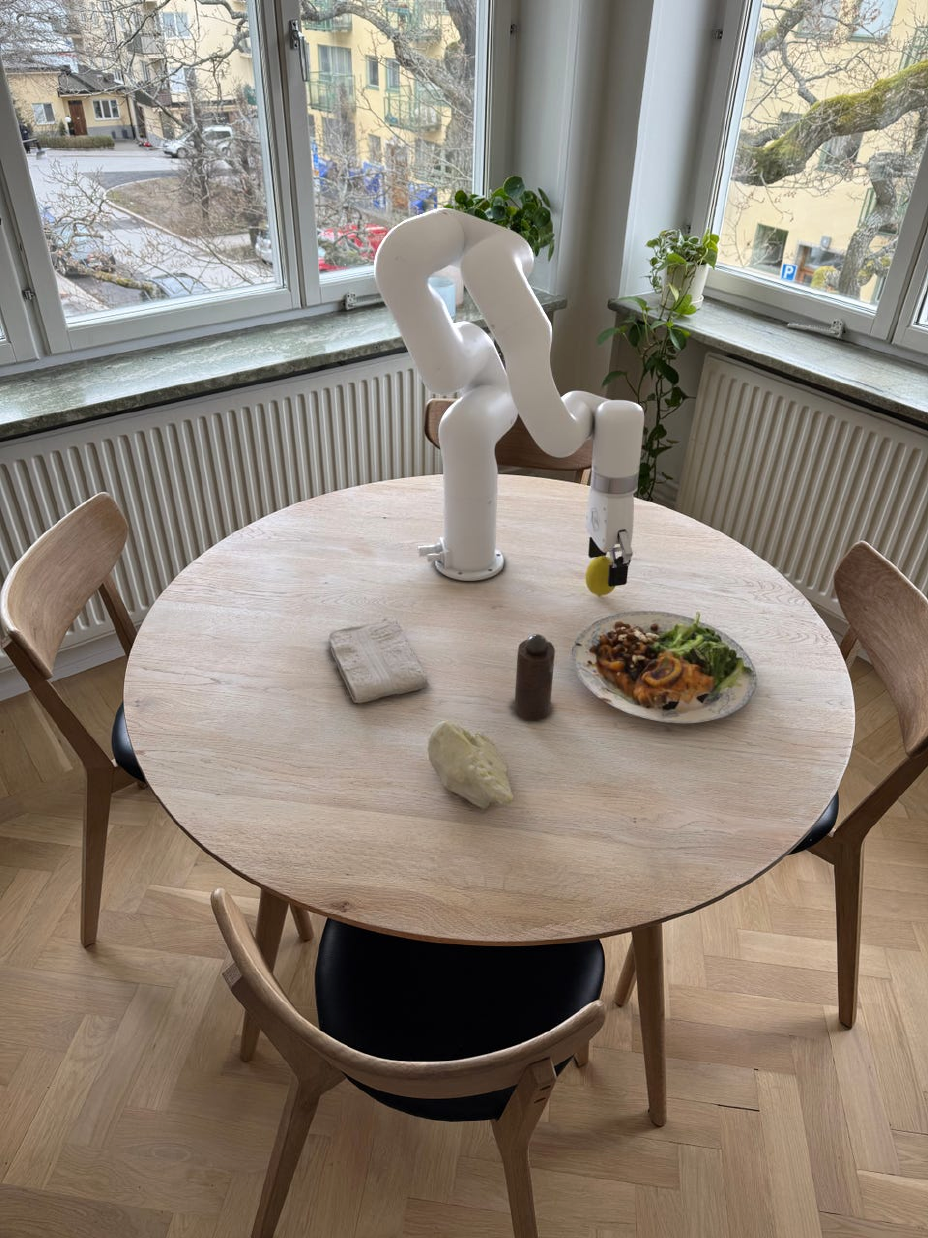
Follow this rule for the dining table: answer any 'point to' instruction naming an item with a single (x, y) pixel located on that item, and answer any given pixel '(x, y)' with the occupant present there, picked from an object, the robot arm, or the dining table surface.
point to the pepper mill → (534, 678)
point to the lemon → (598, 576)
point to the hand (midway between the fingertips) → (606, 570)
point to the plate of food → (664, 667)
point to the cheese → (469, 764)
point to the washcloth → (376, 660)
